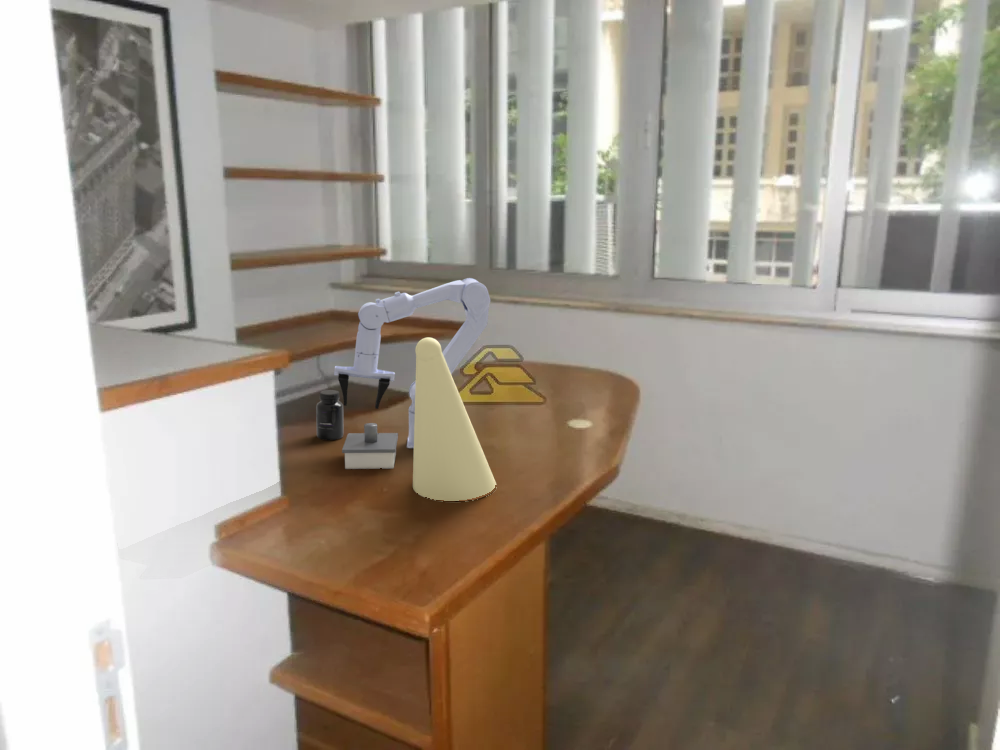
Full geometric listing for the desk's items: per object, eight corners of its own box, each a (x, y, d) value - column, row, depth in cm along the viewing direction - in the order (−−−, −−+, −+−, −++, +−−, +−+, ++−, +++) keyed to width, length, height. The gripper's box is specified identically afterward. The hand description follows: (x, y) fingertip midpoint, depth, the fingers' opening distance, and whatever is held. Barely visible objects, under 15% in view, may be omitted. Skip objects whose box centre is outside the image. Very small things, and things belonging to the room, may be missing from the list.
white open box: (396, 452, 184) (395, 436, 183) (393, 468, 174) (393, 451, 173) (350, 452, 183) (350, 437, 182) (345, 468, 173) (344, 452, 172)
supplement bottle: (320, 442, 190) (318, 396, 188) (314, 434, 196) (312, 390, 193) (347, 438, 194) (345, 393, 191) (339, 431, 199) (338, 387, 197)
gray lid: (398, 436, 184) (397, 417, 183) (395, 452, 172) (395, 432, 171) (348, 436, 183) (347, 417, 182) (342, 453, 171) (341, 432, 170)
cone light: (435, 465, 176) (435, 317, 168) (509, 477, 169) (512, 324, 161) (382, 504, 154) (378, 335, 145) (463, 519, 147) (465, 344, 139)
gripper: (396, 352, 188) (390, 404, 191) (337, 345, 185) (331, 398, 188) (397, 358, 181) (391, 412, 184) (336, 351, 178) (330, 406, 181)
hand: (361, 406), depth 185 cm, fingers open, 7 cm apart
